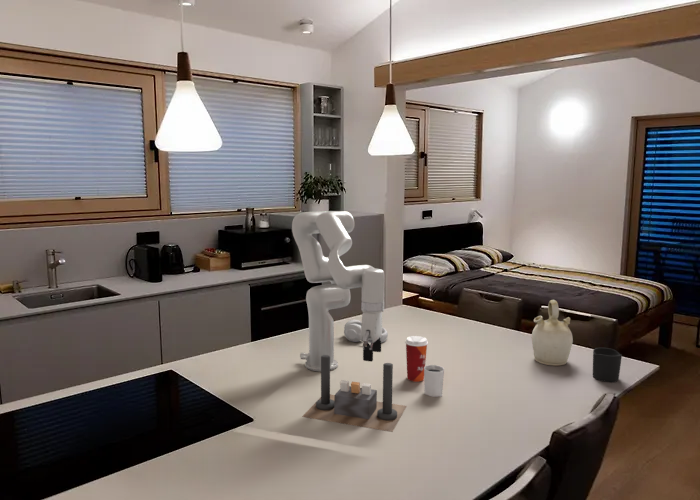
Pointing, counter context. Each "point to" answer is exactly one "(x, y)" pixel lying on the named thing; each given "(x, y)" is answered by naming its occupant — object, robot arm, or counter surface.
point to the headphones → (358, 331)
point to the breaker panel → (357, 420)
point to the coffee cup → (416, 357)
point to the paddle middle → (355, 387)
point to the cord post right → (387, 395)
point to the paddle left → (344, 385)
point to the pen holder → (606, 364)
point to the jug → (552, 338)
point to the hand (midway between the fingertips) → (372, 356)
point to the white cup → (433, 380)
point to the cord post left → (325, 386)
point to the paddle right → (366, 389)
